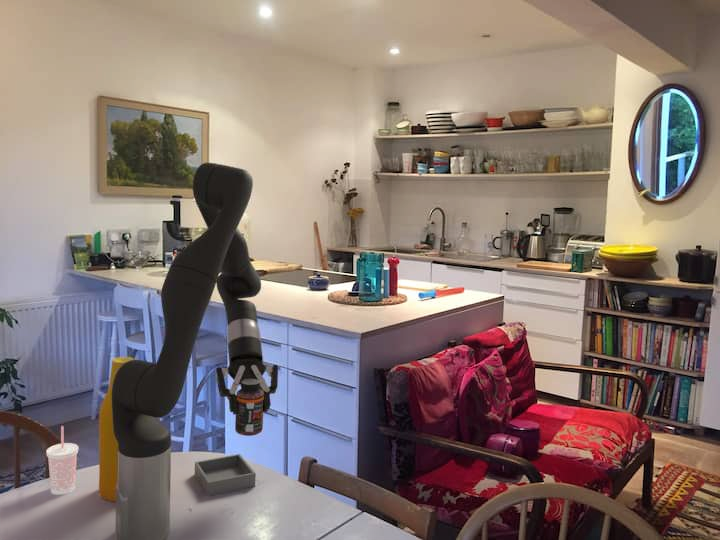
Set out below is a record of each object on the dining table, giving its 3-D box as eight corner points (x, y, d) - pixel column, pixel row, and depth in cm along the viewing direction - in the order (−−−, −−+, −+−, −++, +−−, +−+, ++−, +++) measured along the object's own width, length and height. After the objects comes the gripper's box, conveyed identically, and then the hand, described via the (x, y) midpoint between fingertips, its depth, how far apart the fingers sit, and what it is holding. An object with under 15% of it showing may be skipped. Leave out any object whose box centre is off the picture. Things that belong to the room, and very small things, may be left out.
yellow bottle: (93, 487, 128) (93, 356, 124) (137, 477, 134) (138, 351, 130) (105, 507, 121) (105, 368, 117) (151, 495, 127) (153, 362, 123)
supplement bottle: (256, 438, 127) (257, 387, 125) (230, 434, 128) (231, 384, 126) (266, 427, 132) (268, 378, 131) (241, 424, 134) (243, 375, 132)
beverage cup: (40, 491, 126) (39, 427, 124) (66, 479, 131) (65, 418, 129) (59, 499, 123) (58, 434, 121) (85, 487, 128) (84, 424, 126)
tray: (208, 496, 127) (208, 482, 127) (194, 474, 136) (194, 462, 136) (255, 486, 133) (255, 473, 132) (239, 465, 142) (239, 453, 141)
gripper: (213, 335, 132) (218, 407, 122) (278, 333, 137) (287, 402, 127) (211, 352, 138) (215, 421, 128) (272, 349, 142) (281, 416, 133)
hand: (250, 411), depth 128 cm, fingers closed on supplement bottle, 6 cm apart
